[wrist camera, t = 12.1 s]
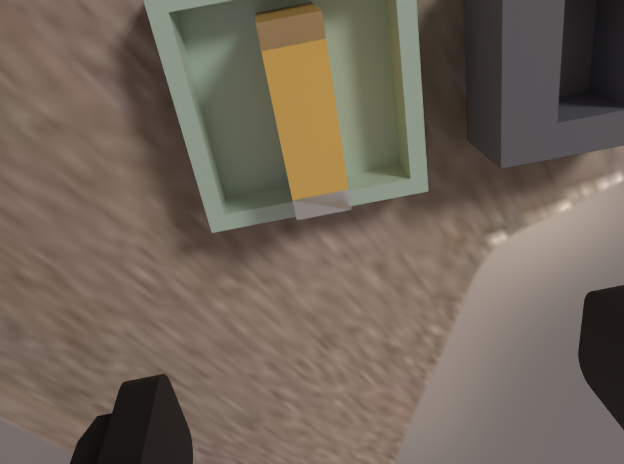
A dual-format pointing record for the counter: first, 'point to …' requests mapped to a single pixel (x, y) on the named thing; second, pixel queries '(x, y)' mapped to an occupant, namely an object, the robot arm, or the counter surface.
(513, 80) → the block
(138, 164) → the counter surface
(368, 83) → the parts tray
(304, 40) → the block
